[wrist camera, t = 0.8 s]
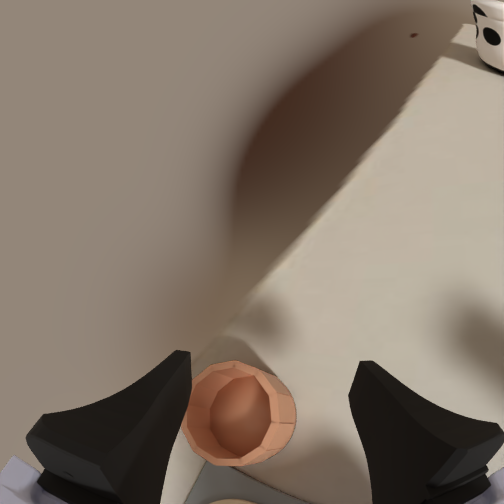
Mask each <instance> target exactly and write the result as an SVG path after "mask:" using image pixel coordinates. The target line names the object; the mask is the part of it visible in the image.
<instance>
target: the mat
mask: <svg viewBox="0 0 504 504" xmlns="http://www.w3.org/2000/svg"><path fill="white" fill-rule="evenodd" d="M223 499H244V500H248V501H252V502H255V503H258V504H310V503H308V502H305V501H302V500H300V499H297V498H295V497H292V496H290V495H288V494H285V493H283V492H281V491H279V490H276V489H274V488H272V487H270V486H268V485H266V484H264V483H262V482H260V481H258V480H256V479H254V478H252V477H250V476H248V475H246V474H244V473H242V472H240V471H239V470H237V469H235V468H233V467H231V466H216V465H213V464H212V463H210V462H209V461H206V463H205V465H204V467H203V469H202V471H201V473H200V475H199V477H198V479H197V481H196V483H195V485H194V487H193V489H192V491H191V493H190V495H189V497H188V498H187V500H186V502H185V504H210V503H212V502H215V501H219V500H223Z"/></svg>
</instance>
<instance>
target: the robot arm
mask: <svg viewBox="0 0 504 504" xmlns="http://www.w3.org/2000/svg"><path fill="white" fill-rule="evenodd" d="M191 391H192V376H191V356H190V352H187V351H180V350H176V351H174V352H173V353H172V354H171V355H169V356H168V357H167V358H166V359H165V360H164V361H162V362H161V363H160V364H159V365H158V366H156V367H155V368H154V369H153V370H151V371H150V372H149V373H147V374H146V375H145V376H143V377H142V378H141V379H139V380H138V381H136V382H135V383H133V384H132V385H130V386H129V387H127V388H125V389H124V390H122V391H120V392H118V393H116V394H114V395H112V396H110V397H107V398H105V399H103V400H100V401H98V402H95V403H92V404H90V405H86V406H83V407H80V408H76V409H72V410H67V411H62V412H56V413H49V414H43V415H42V416H41V418H40V419H39V420H38V421H37V423H36V424H35V425H34V426H33V428H32V429H31V430H30V431H29V433H28V434H27V436H26V441H27V444H28V446H29V448H30V449H31V451H32V452H33V454H34V455H35V456H36V458H37V459H38V460H39V462H40V463H41V464H42V466H43V467H44V468H45V469H44V471H43V473H42V474H41V473H40V472H39V471H38V470H36V469H35V468H34V467H32V466H31V465H29V464H28V463H26V462H24V461H23V460H21V459H20V458H18V457H17V456H16V455H13V456H12V458H11V459H10V460H9V462H8V463H7V464H6V466H5V467H4V469H3V470H2V471H1V473H0V504H160V501H161V495H162V490H163V485H164V480H165V475H166V470H167V466H168V462H169V458H170V454H171V450H172V447H173V444H174V442H175V439H176V437H177V434H178V431H179V429H180V426H181V424H182V421H183V418H184V416H185V413H186V410H187V408H188V404H189V400H190V395H191ZM348 397H349V403H350V408H351V413H352V416H353V419H354V422H355V425H356V428H357V431H358V434H359V437H360V439H361V442H362V445H363V448H364V451H365V455H366V458H367V463H368V469H369V474H370V482H371V489H372V501H373V504H504V467H503V468H501V469H500V470H498V471H496V472H495V473H493V474H492V475H491V476H489V477H488V478H487V476H486V474H485V473H487V472H488V467H487V466H486V464H487V463H488V462H489V461H490V460H491V459H492V457H493V456H494V455H495V454H496V453H497V451H498V450H499V449H500V448H501V446H502V445H503V443H504V432H503V430H502V429H501V428H500V426H499V425H498V424H497V423H493V422H487V421H481V420H476V419H472V418H468V417H465V416H462V415H459V414H456V413H453V412H451V411H448V410H446V409H444V408H442V407H439V406H437V405H436V404H434V403H432V402H430V401H428V400H426V399H425V398H423V397H421V396H420V395H418V394H417V393H415V392H414V391H412V390H411V389H409V388H408V387H407V386H405V385H404V384H403V383H401V382H400V381H399V380H397V379H396V378H395V377H393V376H392V375H391V374H390V373H388V372H387V371H386V370H384V369H383V368H382V367H381V366H379V365H378V364H377V363H375V362H374V361H360V362H359V365H358V368H357V371H356V374H355V377H354V380H353V383H352V386H351V389H350V392H349V395H348Z"/></svg>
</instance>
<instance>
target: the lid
mask: <svg viewBox="0 0 504 504" xmlns="http://www.w3.org/2000/svg"><path fill="white" fill-rule="evenodd" d="M210 504H258V503H255V502H252V501H248V500H244V499H223V500H219V501H215V502H212V503H210Z"/></svg>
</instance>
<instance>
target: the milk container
mask: <svg viewBox="0 0 504 504" xmlns="http://www.w3.org/2000/svg"><path fill="white" fill-rule="evenodd" d="M471 6H472V10H473V15H474V19H475V22H476V29H477V33H476V47H477V50H478V54H479V56H480V58H481V59H482V61H483V62H485V63H486V64H487V65H488V66H490V67H492V68H494V69H496V70H498V71H501V72H503V73H504V2H500V1H495V0H471Z"/></svg>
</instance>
